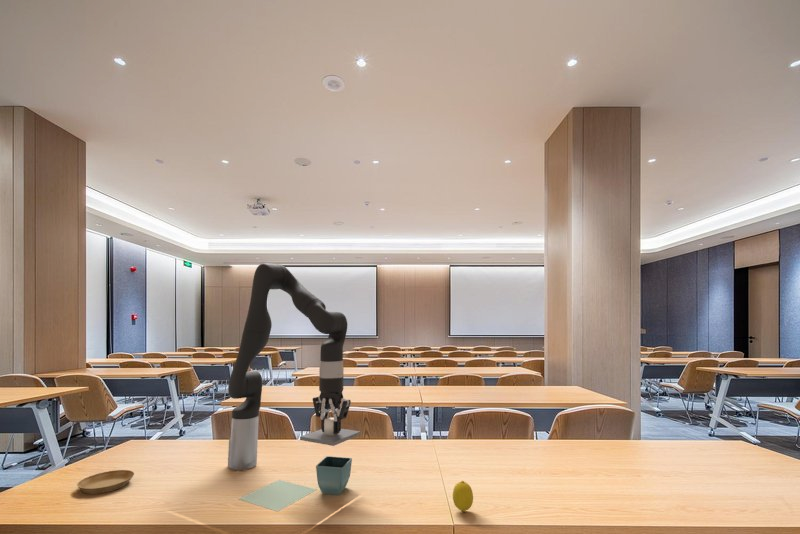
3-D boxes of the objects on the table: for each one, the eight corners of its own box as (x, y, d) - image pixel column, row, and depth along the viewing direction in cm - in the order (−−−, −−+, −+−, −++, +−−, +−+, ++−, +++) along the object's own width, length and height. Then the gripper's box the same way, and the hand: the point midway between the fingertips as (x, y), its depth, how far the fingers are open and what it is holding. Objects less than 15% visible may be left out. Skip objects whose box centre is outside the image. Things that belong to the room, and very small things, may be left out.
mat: (237, 501, 116) (237, 498, 116) (279, 481, 130) (279, 479, 130) (277, 513, 108) (277, 511, 108) (316, 491, 122) (316, 489, 122)
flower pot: (342, 500, 116) (343, 467, 117) (314, 497, 118) (315, 465, 119) (352, 487, 125) (352, 457, 126) (325, 485, 126) (326, 455, 128)
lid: (300, 440, 120) (300, 421, 121) (328, 429, 131) (328, 412, 132) (333, 445, 114) (333, 426, 115) (360, 434, 125) (360, 416, 126)
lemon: (451, 507, 111) (450, 477, 112) (470, 506, 111) (469, 476, 113) (455, 517, 106) (454, 485, 107) (475, 516, 106) (475, 484, 107)
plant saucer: (115, 496, 120) (116, 487, 120) (63, 498, 119) (64, 488, 119) (143, 477, 134) (143, 469, 135) (97, 478, 133) (98, 470, 134)
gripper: (306, 375, 126) (305, 432, 123) (341, 378, 118) (341, 438, 116) (322, 373, 132) (321, 427, 130) (356, 375, 125) (356, 432, 123)
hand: (331, 432), depth 123 cm, fingers closed on lid, 4 cm apart
